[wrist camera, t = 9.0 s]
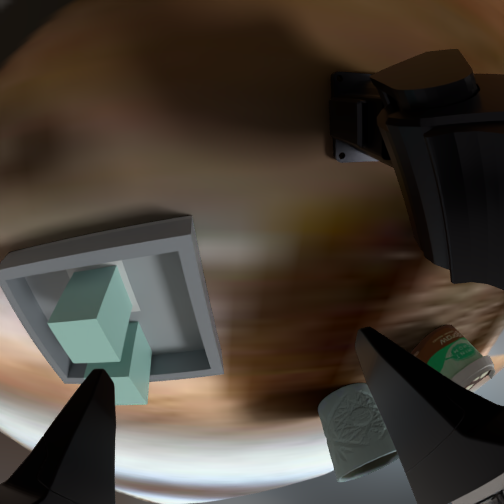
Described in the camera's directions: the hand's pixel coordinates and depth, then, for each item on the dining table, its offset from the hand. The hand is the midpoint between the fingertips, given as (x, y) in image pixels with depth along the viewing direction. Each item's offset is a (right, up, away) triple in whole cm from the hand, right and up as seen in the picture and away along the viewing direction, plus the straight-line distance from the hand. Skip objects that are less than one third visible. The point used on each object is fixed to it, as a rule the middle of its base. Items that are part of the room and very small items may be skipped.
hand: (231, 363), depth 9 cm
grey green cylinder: (+14, -18, +28) cm, 36 cm away
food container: (+26, -8, +25) cm, 37 cm away
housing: (-11, -1, +14) cm, 18 cm away
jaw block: (-11, +1, +12) cm, 17 cm away
